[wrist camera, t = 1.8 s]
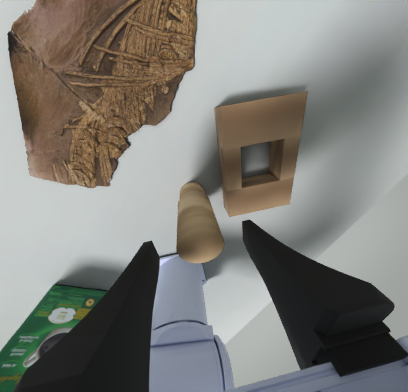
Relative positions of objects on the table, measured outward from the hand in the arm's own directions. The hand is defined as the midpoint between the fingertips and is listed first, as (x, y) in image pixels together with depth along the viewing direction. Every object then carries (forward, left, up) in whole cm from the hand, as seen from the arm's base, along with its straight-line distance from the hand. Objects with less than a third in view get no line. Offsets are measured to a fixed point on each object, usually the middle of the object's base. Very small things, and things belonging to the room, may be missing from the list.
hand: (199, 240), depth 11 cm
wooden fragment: (+13, +5, -9) cm, 16 cm away
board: (+3, -8, -8) cm, 12 cm away
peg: (0, 0, -8) cm, 8 cm away
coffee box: (-14, +22, -9) cm, 27 cm away
